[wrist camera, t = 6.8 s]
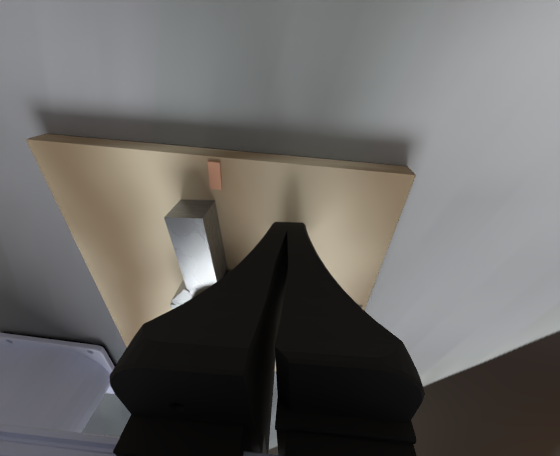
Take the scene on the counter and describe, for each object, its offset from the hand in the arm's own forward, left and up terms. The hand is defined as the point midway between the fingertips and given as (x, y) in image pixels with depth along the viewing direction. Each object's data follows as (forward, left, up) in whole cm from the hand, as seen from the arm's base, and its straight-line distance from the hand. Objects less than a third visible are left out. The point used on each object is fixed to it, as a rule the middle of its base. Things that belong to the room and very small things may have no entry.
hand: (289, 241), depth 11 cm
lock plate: (-3, -5, -2) cm, 6 cm away
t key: (-4, -5, -1) cm, 6 cm away
